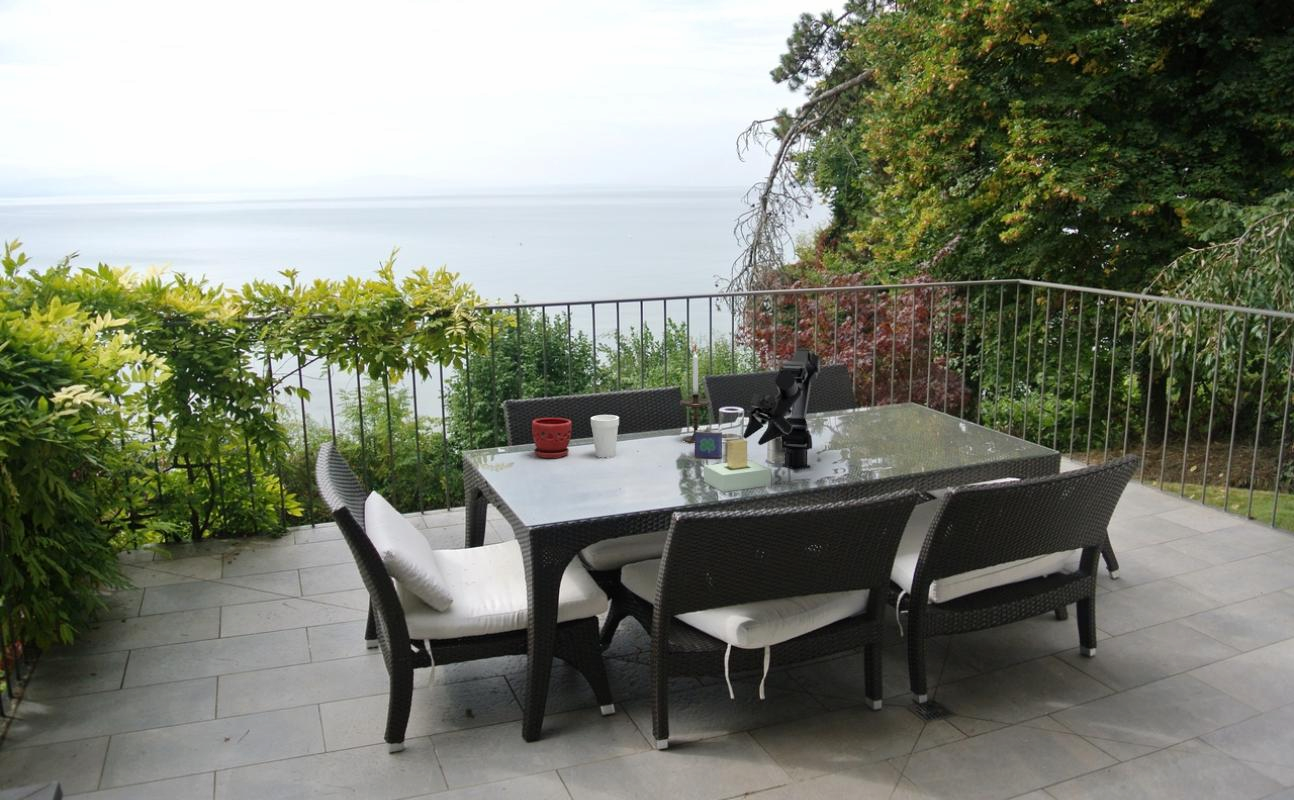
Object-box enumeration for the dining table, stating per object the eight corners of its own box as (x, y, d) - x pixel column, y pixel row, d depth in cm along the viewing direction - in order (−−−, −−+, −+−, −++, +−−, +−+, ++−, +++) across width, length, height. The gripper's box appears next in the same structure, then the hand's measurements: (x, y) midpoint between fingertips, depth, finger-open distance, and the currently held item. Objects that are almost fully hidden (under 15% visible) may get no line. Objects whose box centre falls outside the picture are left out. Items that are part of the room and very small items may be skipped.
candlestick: (709, 444, 332) (709, 345, 326) (678, 443, 334) (678, 345, 327) (712, 437, 343) (712, 341, 336) (682, 437, 344) (681, 341, 338)
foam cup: (588, 458, 315) (587, 420, 313) (596, 451, 324) (595, 414, 322) (615, 459, 313) (614, 421, 311) (622, 453, 322) (622, 415, 320)
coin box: (750, 475, 292) (751, 459, 291) (770, 485, 281) (771, 468, 280) (704, 481, 286) (704, 465, 285) (722, 491, 275) (722, 475, 274)
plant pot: (562, 461, 312) (561, 425, 310) (526, 458, 317) (525, 423, 314) (578, 452, 324) (577, 417, 322) (543, 449, 329) (542, 415, 326)
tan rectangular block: (741, 481, 286) (741, 439, 283) (746, 483, 283) (747, 441, 281) (727, 483, 284) (727, 441, 281) (732, 485, 281) (732, 443, 278)
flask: (722, 457, 315) (722, 425, 313) (721, 459, 312) (721, 427, 310) (695, 456, 317) (694, 424, 315) (693, 458, 314) (693, 426, 312)
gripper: (752, 379, 290) (720, 418, 288) (783, 389, 273) (749, 430, 271) (774, 402, 295) (743, 440, 293) (806, 413, 278) (773, 454, 276)
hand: (751, 440), depth 283 cm, fingers open, 9 cm apart
